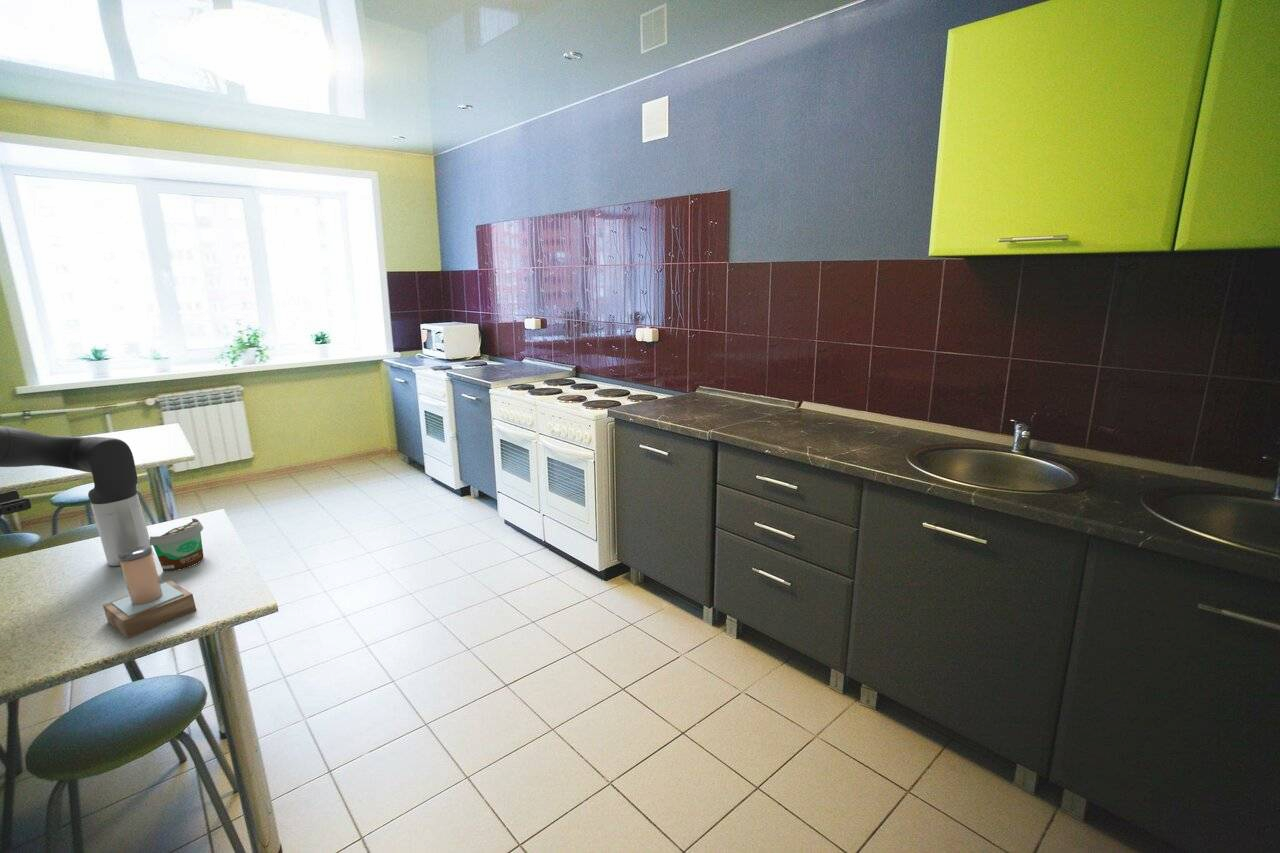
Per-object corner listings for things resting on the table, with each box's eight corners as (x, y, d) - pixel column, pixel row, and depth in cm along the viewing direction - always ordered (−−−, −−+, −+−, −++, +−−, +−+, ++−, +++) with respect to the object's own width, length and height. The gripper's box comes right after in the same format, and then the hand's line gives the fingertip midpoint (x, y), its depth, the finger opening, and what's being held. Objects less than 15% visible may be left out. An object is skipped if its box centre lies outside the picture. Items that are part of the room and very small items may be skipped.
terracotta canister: (127, 601, 124) (113, 554, 121) (157, 589, 129) (145, 544, 126) (136, 607, 121) (123, 560, 119) (167, 595, 126) (155, 549, 123)
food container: (177, 576, 144) (168, 539, 141) (157, 574, 145) (147, 537, 142) (221, 553, 155) (213, 518, 153) (202, 551, 157) (194, 517, 154)
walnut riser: (107, 621, 125) (102, 603, 123) (174, 595, 134) (169, 579, 133) (128, 638, 118) (122, 619, 117) (196, 610, 128) (192, 592, 127)
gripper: (-110, 517, 95) (28, 486, 108) (-121, 501, 103) (8, 474, 116) (-94, 558, 97) (40, 523, 110) (-106, 540, 105) (20, 509, 118)
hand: (23, 498), depth 113 cm, fingers open, 8 cm apart
